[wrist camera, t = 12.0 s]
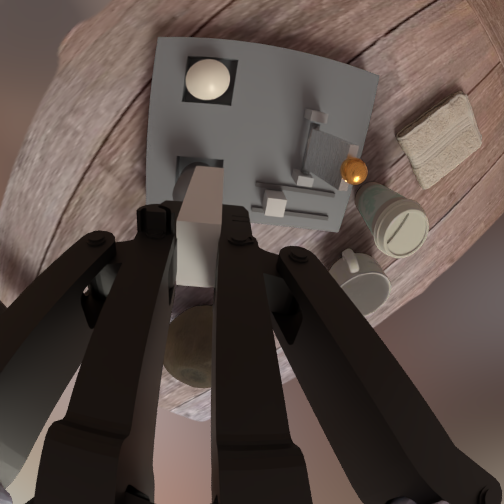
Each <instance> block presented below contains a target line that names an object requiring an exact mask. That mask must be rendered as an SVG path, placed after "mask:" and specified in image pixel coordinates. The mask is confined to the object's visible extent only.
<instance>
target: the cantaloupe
mask: <svg viewBox="0 0 504 504" xmlns="http://www.w3.org/2000/svg"><path fill="white" fill-rule="evenodd" d="M212 310H213V306H210V305H201V306H195V307H192V308H190V309H188V310H186V311H185V312H183V313H181V314H180V315H178V316H177V317H176V318H175V319H174V320H173V321H172V322H171V323H170V324H169V329H168V335H167V341H166V348H165V354H164V361H163V365H164V367H165V368H166V370H167V371H168V372H169V373H170V374H171V375H172V376H173V377H174V378H176V379H177V380H179V381H181V382H183V383H185V384H187V385H190V386H192V387H196V388H210V387H211V364H212V326H213V312H212Z"/></svg>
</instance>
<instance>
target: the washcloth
mask: <svg viewBox="0 0 504 504" xmlns="http://www.w3.org/2000/svg"><path fill="white" fill-rule="evenodd" d="M396 138H397V140H398V142H399V144H400V146H401V147H402V150H403V151H404V152H405V153H406V155H407V156H408V159H409V160H410V163H411V165H412V169H413V172H414V174H415V176H416V178H417V180H418V182H419V184H420V186H421V188H422V189H427V188H430V187H431V186H432V185H434V184H435V183H437V181H439V180H440V179H441V178H442V177H444V176H445V175H446V174H447V173H449V172H450V171H451V170H453V169H454V168H456V166H458V165H459V164H460V163H461V162H463V161H464V160H465V159H466V158H467V157H468V156H470V155H471V154H472V153H473V152H474V151H476V150H477V149H478V148H479V147H480V146H481V144H482V142H481V140H482V135H481V134H480V132H479V130H478V127H477V124H476V120H475V117H474V114H473V110H472V107H471V105H470V102H469V100H468V96H467V94H463V92H462V91H459V92H457V93H455V94H451V96H449V97H446V98H445V99H443V100H441V101H440V102H439V103H437V104H436V105H435V106H433V107H432V108H430V109H429V110H428V111H426V112H425V113H424V114H422V115H421V116H420V117H418V118H417V119H416V120H415V121H413V122H412V123H410V124H409V125H407V126H406V127H404V128H403V129H402V130H400V131H399V132H398V133H397V135H396Z"/></svg>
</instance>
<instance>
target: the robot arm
mask: <svg viewBox="0 0 504 504" xmlns="http://www.w3.org/2000/svg"><path fill="white" fill-rule="evenodd" d="M223 177H224V168H216V167H205V166H196V168H195V171H194V173H193V176H192V179H191V181H190V184H189V187H188V189H187V192H186V195H185V198H184V200H183V201H170V200H165V201H164V202H162V203H161V204H149V205H145V206H142V207H140V208H139V209H138V210H137V231H138V232H137V234H136V236H135V238H134V239H133V240H130V241H123V242H115V236H114V235H113V234H112V233H110V232H107V231H93V232H91V233H88V234H86V235H85V236H83V237H82V238H80V239H79V240H78V241H77V242H76V243H75V244H73V245H72V246H71V247H70V248H69V249H68V250H67V251H65V252H64V253H63V254H62V255H61V256H60V257H59V258H58V259H57V260H55V261H54V262H53V263H52V264H51V265H50V266H49V267H48V268H47V269H46V270H45V271H44V272H43V273H42V274H40V275H39V276H38V277H37V278H36V279H35V280H34V281H33V282H32V283H31V284H30V285H29V286H28V287H27V288H26V289H25V290H24V291H23V292H22V293H21V294H20V295H19V297H18V298H17V299H16V300H15V301H14V302H13V303H12V304H11V305H10V306H9V307H8V308H7V307H6V306H5V305H4V304H3V303H2V302H1V301H0V504H12V498H11V496H10V494H9V493H8V492H7V491H6V490H5V489H6V487H8V486H9V485H10V484H11V482H12V481H13V480H14V479H15V477H16V476H17V474H18V473H19V472H20V470H21V469H22V467H23V465H24V463H25V461H26V460H27V457H28V456H29V454H30V452H31V450H32V448H33V446H34V444H35V442H36V440H37V438H38V436H39V434H40V432H41V430H42V429H43V427H44V425H45V423H46V421H47V420H48V418H49V416H50V414H51V412H52V411H53V409H54V407H55V405H56V404H57V402H58V400H59V399H60V397H61V395H62V393H63V392H64V390H65V389H66V387H67V385H68V384H69V382H70V380H71V379H72V377H73V375H74V374H75V372H76V371H77V369H78V368H79V366H80V364H81V366H80V369H79V372H78V376H77V379H76V382H75V385H74V388H73V392H72V395H71V399H70V402H69V406H68V410H67V413H66V415H65V417H64V418H63V419H62V420H58V421H55V422H53V423H52V425H51V426H50V427H49V429H48V431H47V434H46V437H45V441H44V445H43V450H42V454H41V459H40V465H39V470H38V476H37V482H36V489H35V496H34V497H33V498H32V499H31V500H30V501H28V502H27V503H25V504H154V474H153V449H154V437H155V426H156V416H157V407H158V399H159V391H160V383H161V375H162V368H163V361H164V354H165V348H166V341H167V335H168V329H169V323H170V318H171V312H172V306H173V301H174V296H175V279H176V285H184V286H196V287H208V288H214V298H213V310H212V312H213V326H212V364H211V465H212V477H211V481H212V482H211V490H212V504H313V503H312V497H311V491H310V485H309V480H308V473H307V468H306V463H305V460H304V456H303V454H302V452H301V449H300V448H299V447H298V446H297V445H295V444H294V443H293V441H292V439H291V436H290V431H289V425H288V419H287V413H286V407H285V400H284V394H283V388H282V382H281V376H280V370H279V364H278V358H277V352H276V346H275V340H274V334H273V331H274V333H275V335H276V337H277V339H278V341H279V343H280V345H281V347H282V349H283V351H284V353H285V355H286V357H287V359H288V361H289V363H290V365H291V367H292V369H293V371H294V373H295V375H296V377H297V379H298V381H299V383H300V385H301V387H302V389H303V391H304V393H305V395H306V397H307V399H308V401H309V403H310V405H311V407H312V409H313V411H314V413H315V415H316V417H317V419H318V421H319V423H320V425H321V427H322V429H323V431H324V433H325V435H326V437H327V439H328V441H329V442H330V445H331V447H332V448H333V450H334V452H335V454H336V456H337V458H338V460H339V462H340V464H341V466H342V468H343V470H344V471H345V474H346V475H347V477H348V479H349V481H350V483H351V485H352V487H353V488H354V490H355V492H356V493H357V495H358V497H359V498H360V500H361V501H362V502H363V503H364V504H501V501H502V490H501V487H500V483H499V482H498V481H497V480H496V478H494V477H493V476H492V475H490V474H489V473H488V472H486V471H485V470H484V469H483V468H481V467H480V466H479V465H478V464H477V463H475V462H474V461H473V460H471V459H470V458H469V457H468V456H466V455H465V454H464V453H463V452H462V451H460V450H459V449H458V448H457V447H455V445H454V444H453V442H452V441H451V439H450V438H449V436H448V434H447V433H446V431H445V430H444V428H443V427H442V425H441V424H440V422H439V421H438V419H437V418H436V416H435V415H434V413H433V412H432V410H431V409H430V407H429V406H428V404H427V403H426V401H425V400H424V398H423V397H422V395H421V394H420V392H419V391H418V390H417V388H416V387H415V385H414V384H413V382H412V381H411V380H410V378H409V377H408V375H407V374H406V373H405V371H404V370H403V369H402V367H401V366H400V365H399V363H398V361H397V360H396V359H395V357H394V356H393V355H392V354H391V352H390V351H389V349H388V348H387V346H386V345H385V344H384V342H383V341H382V340H381V338H380V337H379V336H378V334H377V333H376V332H375V331H374V329H373V328H372V326H371V325H370V324H369V323H368V321H367V320H366V319H365V317H364V316H363V315H362V313H361V312H360V311H359V310H358V308H357V307H356V306H355V304H354V303H353V302H352V301H351V299H350V298H349V297H348V295H347V294H346V293H345V292H344V290H343V289H342V288H341V287H340V285H339V284H338V283H337V282H336V280H335V279H334V278H333V277H332V275H331V274H330V273H329V272H328V270H327V269H326V268H325V267H324V266H323V264H322V263H321V262H320V261H319V259H318V258H317V257H316V256H315V255H314V254H313V253H312V252H311V251H309V250H307V249H305V248H302V247H299V246H288V247H284V248H282V249H281V250H280V253H279V255H277V254H274V253H270V252H267V251H265V250H263V249H261V248H259V247H258V242H257V240H256V238H255V237H253V236H252V230H251V224H250V218H249V211H248V210H247V209H246V208H245V207H244V206H237V205H227V204H222V199H223ZM87 285H88V290H87V292H86V293H83V291H84V289H85V288H86V287H87Z"/></svg>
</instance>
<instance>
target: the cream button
mask: <svg viewBox="0 0 504 504" xmlns="http://www.w3.org/2000/svg"><path fill="white" fill-rule="evenodd" d="M229 83H230V74H229V71H228V69H227V68H226V66H225V65H224V64H222V63H221V62H219V61H217V60H212V59H205V60H201V61H199V62H197V63H195V64H194V65H193V66H192V67H191V68H190V69H189V70H188V72H187V75H186V86H187V89H188V91H189V92H190V93H191V94H192V95H193V96H194V97H196V98H199V99H202V100H211V99H215V98H217V97H219V96H221V95H222V94H223V93H224V92H225V91H226V90H227V88H228V86H229Z"/></svg>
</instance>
